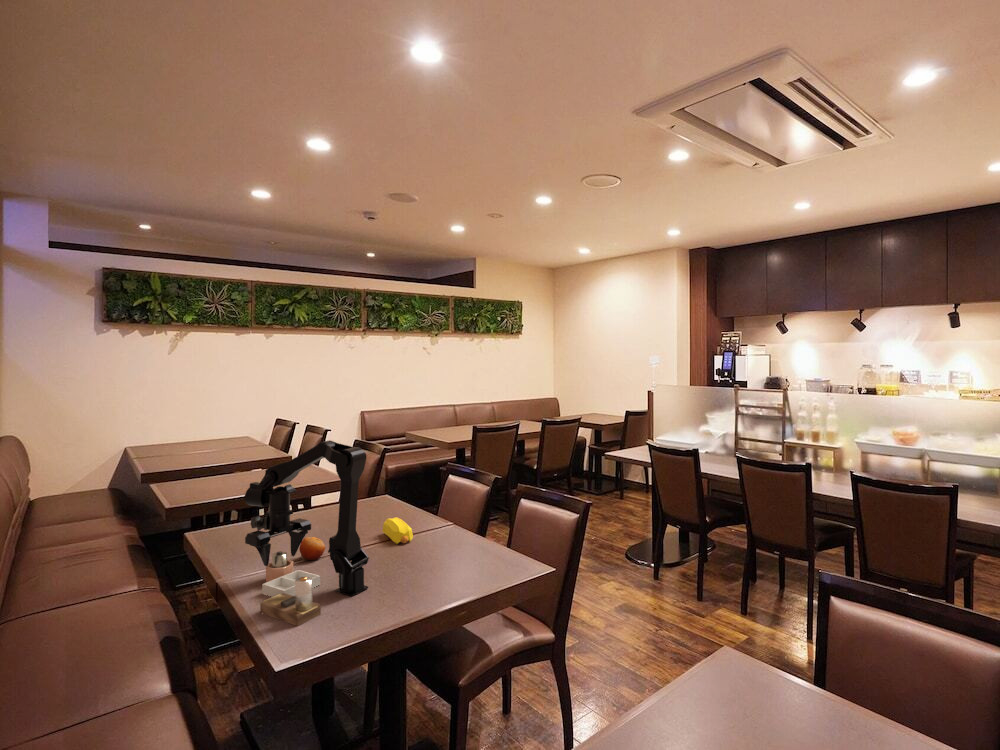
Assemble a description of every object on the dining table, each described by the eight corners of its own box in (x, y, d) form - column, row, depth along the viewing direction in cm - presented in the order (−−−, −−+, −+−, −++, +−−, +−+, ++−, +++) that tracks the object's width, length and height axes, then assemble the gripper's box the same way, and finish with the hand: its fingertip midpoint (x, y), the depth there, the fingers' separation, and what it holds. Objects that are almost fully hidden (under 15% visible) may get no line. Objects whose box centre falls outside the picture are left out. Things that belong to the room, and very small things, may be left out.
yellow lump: (395, 547, 185) (416, 543, 189) (395, 528, 185) (416, 525, 189) (380, 533, 201) (399, 530, 205) (379, 516, 201) (399, 513, 205)
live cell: (315, 606, 133) (315, 576, 132) (302, 613, 129) (302, 582, 129) (304, 603, 135) (304, 573, 134) (291, 609, 131) (291, 579, 131)
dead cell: (289, 576, 157) (289, 551, 157) (278, 581, 153) (277, 555, 153) (281, 574, 159) (280, 549, 159) (269, 578, 155) (268, 553, 155)
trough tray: (320, 585, 152) (319, 575, 152) (284, 601, 142) (284, 590, 142) (298, 579, 156) (298, 569, 156) (262, 594, 146) (262, 584, 146)
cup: (298, 578, 157) (298, 562, 157) (277, 586, 151) (277, 570, 151) (282, 573, 161) (282, 558, 161) (261, 581, 155) (261, 565, 155)
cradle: (321, 614, 134) (321, 600, 134) (298, 626, 128) (298, 611, 128) (282, 602, 141) (282, 588, 141) (259, 612, 135) (259, 598, 135)
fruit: (293, 552, 176) (306, 530, 177) (315, 562, 178) (327, 540, 179) (293, 560, 168) (306, 537, 169) (315, 570, 170) (329, 547, 172)
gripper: (288, 497, 168) (288, 547, 168) (232, 511, 152) (233, 566, 152) (312, 502, 162) (312, 553, 163) (257, 516, 146) (258, 573, 146)
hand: (279, 560), depth 156 cm, fingers open, 9 cm apart
